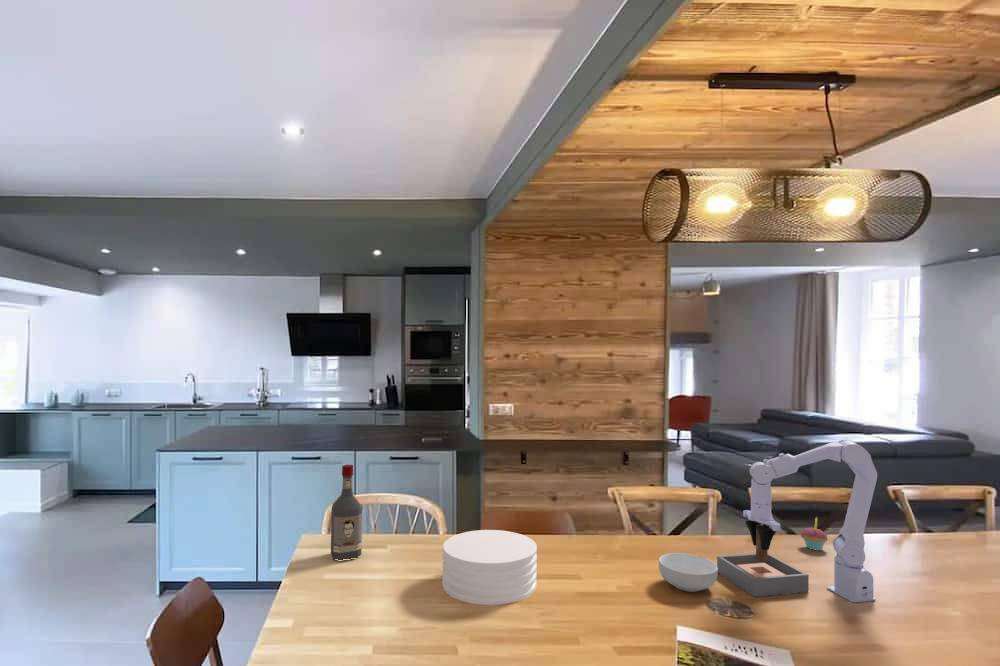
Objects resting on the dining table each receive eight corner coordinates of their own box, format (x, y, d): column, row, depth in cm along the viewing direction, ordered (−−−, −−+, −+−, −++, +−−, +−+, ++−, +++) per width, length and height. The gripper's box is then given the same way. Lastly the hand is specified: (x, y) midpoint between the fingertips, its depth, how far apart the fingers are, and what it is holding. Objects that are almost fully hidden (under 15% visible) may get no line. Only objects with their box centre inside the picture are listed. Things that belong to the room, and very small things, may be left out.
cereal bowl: (722, 602, 156) (722, 576, 156) (661, 596, 159) (661, 571, 159) (712, 577, 173) (712, 554, 173) (656, 572, 176) (656, 550, 176)
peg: (769, 560, 169) (770, 526, 169) (761, 561, 168) (762, 528, 168) (761, 556, 172) (761, 523, 172) (753, 557, 171) (753, 524, 171)
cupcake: (832, 553, 195) (832, 518, 195) (808, 552, 195) (808, 518, 195) (819, 544, 203) (819, 511, 204) (795, 543, 204) (795, 510, 204)
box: (808, 592, 163) (808, 574, 163) (754, 597, 159) (754, 579, 159) (766, 568, 180) (766, 552, 181) (717, 571, 177) (717, 556, 177)
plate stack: (423, 591, 160) (424, 551, 161) (472, 559, 185) (473, 524, 185) (510, 614, 147) (510, 570, 148) (550, 576, 172) (551, 539, 172)
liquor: (329, 553, 188) (331, 464, 189) (357, 549, 192) (358, 462, 193) (333, 563, 180) (335, 469, 181) (362, 558, 184) (364, 467, 185)
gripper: (734, 496, 177) (734, 539, 176) (765, 510, 163) (765, 556, 162) (754, 495, 178) (754, 538, 178) (786, 508, 164) (786, 555, 164)
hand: (761, 547), depth 170 cm, fingers closed on peg, 3 cm apart
